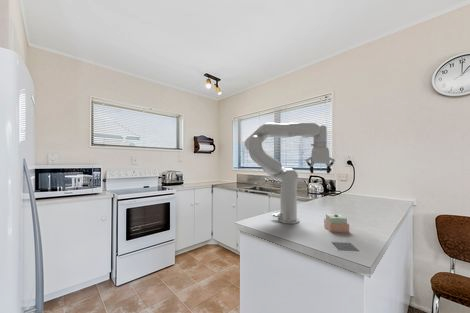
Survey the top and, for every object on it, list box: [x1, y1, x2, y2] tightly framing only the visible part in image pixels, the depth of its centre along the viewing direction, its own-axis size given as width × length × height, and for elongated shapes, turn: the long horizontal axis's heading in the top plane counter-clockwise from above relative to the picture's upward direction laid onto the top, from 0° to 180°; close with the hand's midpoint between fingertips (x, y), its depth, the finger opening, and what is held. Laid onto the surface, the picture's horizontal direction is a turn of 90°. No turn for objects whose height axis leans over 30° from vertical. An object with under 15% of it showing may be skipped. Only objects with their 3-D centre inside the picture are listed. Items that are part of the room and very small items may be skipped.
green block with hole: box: [325, 213, 348, 224], centre depth 104 cm, size 8×8×3 cm
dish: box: [323, 217, 350, 234], centre depth 104 cm, size 9×9×4 cm
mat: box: [330, 241, 360, 252], centre depth 83 cm, size 8×8×1 cm
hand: (320, 173), depth 123 cm, fingers open, 9 cm apart
